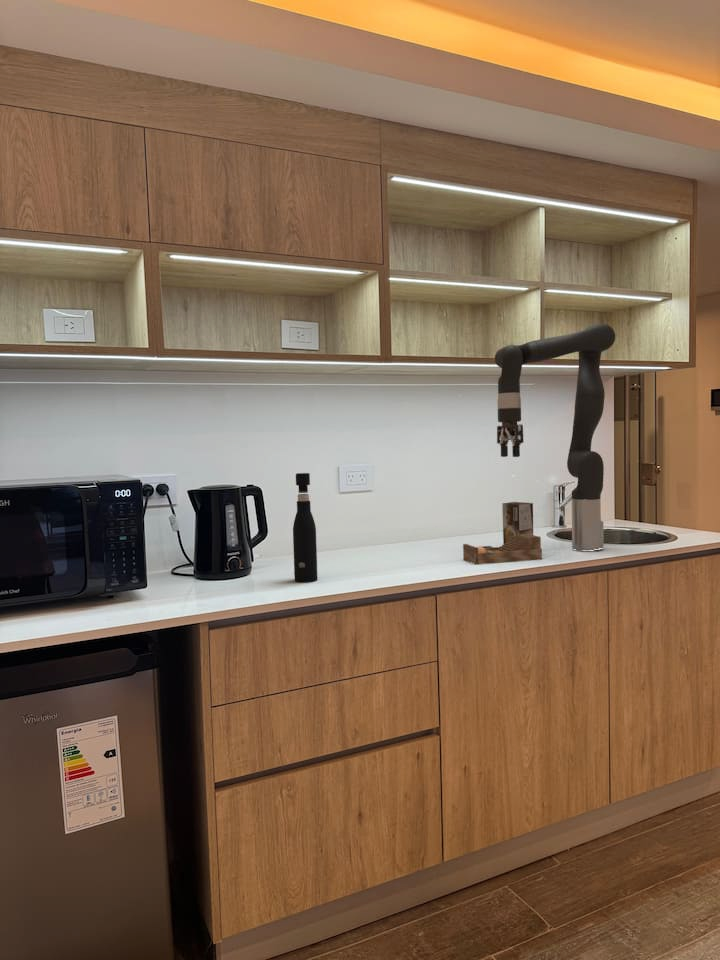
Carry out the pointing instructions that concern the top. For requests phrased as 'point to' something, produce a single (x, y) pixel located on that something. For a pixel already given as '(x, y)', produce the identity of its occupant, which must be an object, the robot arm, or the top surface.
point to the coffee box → (517, 519)
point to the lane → (507, 551)
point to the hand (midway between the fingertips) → (510, 456)
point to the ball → (481, 550)
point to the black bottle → (304, 535)
